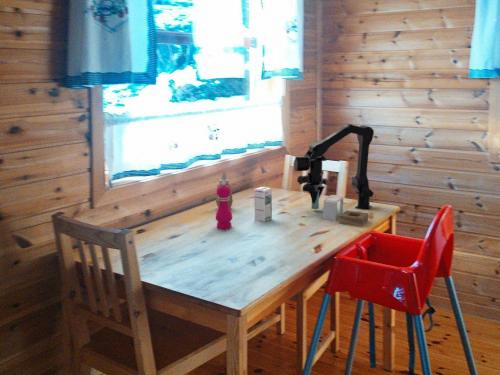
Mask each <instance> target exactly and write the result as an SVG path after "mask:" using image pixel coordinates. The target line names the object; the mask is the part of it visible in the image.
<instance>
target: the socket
mask: <svg viewBox="0 0 500 375" xmlns="http://www.w3.org/2000/svg"><path fill="white" fill-rule="evenodd" d="M367 222H369V213H368V212H361V211H355V210H345V211H343V214H342V215H340V214H339V224H340V225H346V226H354V227H363V226H364V225H365V224H366V223H367Z"/></svg>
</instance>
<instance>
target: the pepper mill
mask: <svg viewBox="0 0 500 375" xmlns="http://www.w3.org/2000/svg"><path fill="white" fill-rule="evenodd" d="M221 184H222V185H221V186H219V187H218V188H217V187H216V196H217V195H218V200H219V208H218V207H217V208H218V209H217V211H216V213H215V220H216V228H217V229H220V230H228V229H230V228H232V220H233V214H232V211H231V209H230V208H229V204H228V202H229V200H230V199H229V198H230V197H229V195H230V193H231V190H232V189H231V190H230V188H229V187H228V186H226V183H225V182H222V183H221Z"/></svg>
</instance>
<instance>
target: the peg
mask: <svg viewBox="0 0 500 375" xmlns="http://www.w3.org/2000/svg"><path fill="white" fill-rule="evenodd" d="M319 202H320V198H319V194H318V196H317V199H316V202H315V203H312V202H311V205H310V206H311V210H319V206H320V203H319Z"/></svg>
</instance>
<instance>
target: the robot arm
mask: <svg viewBox="0 0 500 375" xmlns="http://www.w3.org/2000/svg"><path fill="white" fill-rule="evenodd" d="M374 132H375V130H374V129H373V127H371V126H367V125H365V124H363V125H360V126H358V125H354V124H350V123H345V124H344V125H343V126H342V127H341V128H338V129H337V130H336V131H334V132H333V133H330V135H328V136H327V137H325V138H323V139H321V140H317V141H315V142H313V143H311V144H310V145H309V147H308V150H307V151H306V153H305V155H304V156H295V157H294V161H293V170H294V171H295V172H305V171H306V172H307V171H309V172H308V173H307V174H306V175H299V176H297V180H296V181H297V183H298V184H299V186H300V185H302V184H304V185H303V186H302V192H308V193H309V195H310V199H311V204H312V203H315V202H316V199H317V196H318V194H319V199H320V198H321V195H322V194H323V192H324V189H325V188H326V186H327V185H328V184H329V180H328V179H327V178H323V175H324V171H323V162H325V161H328V159H327V158H326V157H325V156H324V154H325V153H326V152H327V151H328V150H329V149H330V148H331V147H332V146H333V145H334V144H336V143H338V142H339V141H341V140H342V139H344V138H345V137H347V136H348V135H350V134H354V135H356V136H357V138H356V139H357V142H358V156H357V166H356V174H355V176H352V177H351V181H352V182H351V186H352V189H353V190H354V192H355V194H357V205H356V206H355V209H362V210H370V209H371V208H372V206H373V205H370V203H371V201H370V200H371V198H372V197H373V195H374V191H373V190H372V189H370V184H369V183H370V182H369V179H368V174H367V173H368V162H369V152H370V145H371V142H373V139H374V134H375V133H374Z"/></svg>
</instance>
